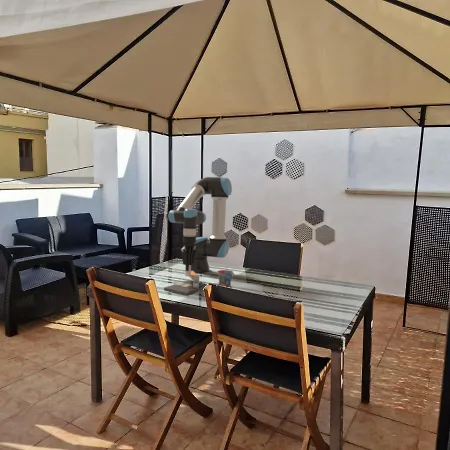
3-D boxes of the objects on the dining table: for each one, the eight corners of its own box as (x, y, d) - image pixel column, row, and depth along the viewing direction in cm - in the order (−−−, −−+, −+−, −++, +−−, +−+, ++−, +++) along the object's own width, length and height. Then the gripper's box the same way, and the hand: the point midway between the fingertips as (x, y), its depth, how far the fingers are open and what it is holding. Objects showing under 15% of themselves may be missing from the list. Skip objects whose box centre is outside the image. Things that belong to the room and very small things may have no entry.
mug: (224, 293, 215) (224, 274, 213) (213, 289, 221) (213, 271, 220) (239, 289, 223) (239, 271, 222) (228, 286, 230) (228, 268, 228)
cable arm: (192, 274, 233) (192, 269, 232) (200, 281, 216) (200, 276, 216) (186, 275, 231) (186, 270, 231) (193, 282, 215) (193, 277, 215)
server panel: (189, 282, 235) (189, 274, 234) (210, 287, 226) (210, 278, 225) (164, 290, 217) (164, 281, 216) (186, 295, 208) (186, 286, 207)
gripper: (191, 234, 228) (190, 273, 230) (177, 235, 217) (175, 276, 219) (201, 235, 224) (199, 275, 226) (187, 237, 213) (185, 279, 215)
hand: (188, 276), depth 222 cm, fingers closed
